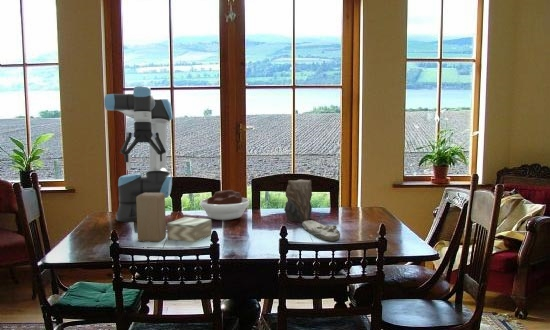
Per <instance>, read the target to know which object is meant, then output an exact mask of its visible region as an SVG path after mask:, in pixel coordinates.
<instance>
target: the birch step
mask: <svg viewBox="0 0 550 330" xmlns="http://www.w3.org/2000/svg"><path fill="white" fill-rule="evenodd" d="M166 229H167V231H166V236H167V240H172V241H183V240H184V242H185V241H186V242H193V243H194V242H198V241H200V240H203V239H205V238H207V237H209V236H211V233H212V230H213V229H212V219H211V218H200V217H197V218H196V217H188V216H184V217H181V218H178V219H176V220H173V221H169V222H167V223H166Z"/></svg>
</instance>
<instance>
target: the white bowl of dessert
mask: <svg viewBox="0 0 550 330" xmlns="http://www.w3.org/2000/svg"><path fill="white" fill-rule="evenodd" d="M199 204H200V207H201V208H202V210H203V211H204V212H205V214H206V216H207V217H208V219H211V220H218V221H232V220H234V219H239V218H241V217H242V216H243V214H244V212H245V210H246V209H247V208H248V207H249V204H250V200H249V198H247V197H243V196H242V195H241V192H239V191H234V190H233V189H227V190H219V191H215V192H214V194H213V195H212V196H210V197H208V198H204V199H201V200H200V202H199Z"/></svg>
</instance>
